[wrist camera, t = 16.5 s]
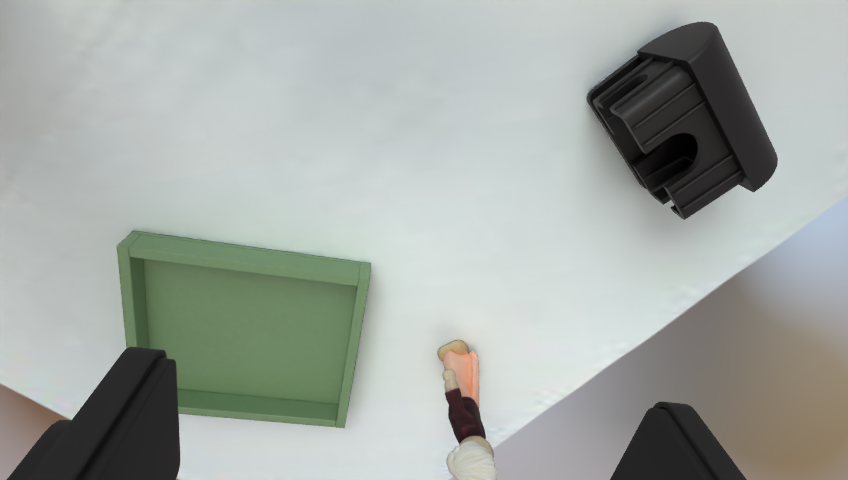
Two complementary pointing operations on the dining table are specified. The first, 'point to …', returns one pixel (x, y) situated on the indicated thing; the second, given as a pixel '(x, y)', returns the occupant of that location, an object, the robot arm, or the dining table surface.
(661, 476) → the robot arm
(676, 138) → the end cap
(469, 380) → the grandmother figurine
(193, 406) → the tray
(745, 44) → the dining table surface
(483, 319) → the dining table surface
